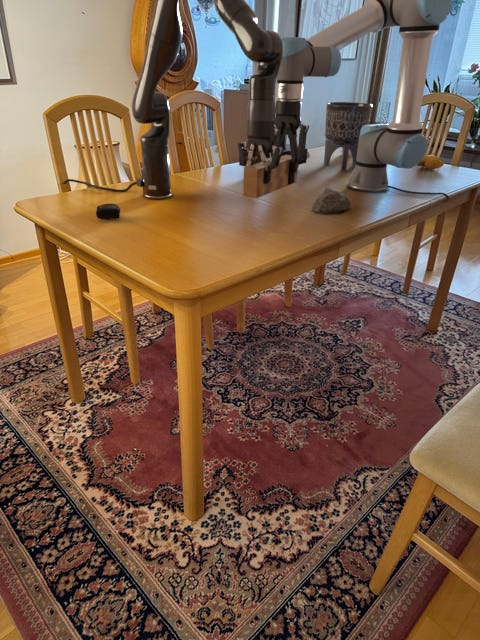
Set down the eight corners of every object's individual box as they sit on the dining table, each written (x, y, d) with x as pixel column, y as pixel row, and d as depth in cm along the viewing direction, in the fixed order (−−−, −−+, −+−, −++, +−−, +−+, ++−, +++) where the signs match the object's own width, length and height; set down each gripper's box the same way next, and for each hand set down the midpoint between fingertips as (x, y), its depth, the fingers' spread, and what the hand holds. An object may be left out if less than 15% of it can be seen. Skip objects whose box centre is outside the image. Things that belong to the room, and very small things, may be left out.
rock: (335, 203, 156) (338, 184, 153) (355, 209, 151) (359, 189, 148) (309, 210, 149) (311, 190, 145) (329, 217, 143) (332, 196, 140)
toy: (418, 162, 205) (412, 155, 217) (420, 176, 207) (414, 168, 220) (444, 154, 201) (436, 147, 214) (446, 168, 204) (438, 161, 217)
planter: (313, 167, 208) (319, 103, 195) (331, 160, 222) (338, 101, 209) (353, 173, 199) (362, 107, 185) (369, 166, 213) (379, 104, 199)
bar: (284, 180, 147) (285, 154, 143) (296, 182, 145) (298, 156, 141) (243, 195, 130) (243, 167, 126) (256, 198, 128) (257, 169, 124)
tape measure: (96, 222, 135) (94, 209, 133) (99, 215, 140) (97, 203, 139) (120, 221, 136) (118, 209, 134) (121, 214, 141) (120, 202, 139)
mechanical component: (240, 120, 182) (283, 115, 202) (239, 174, 192) (280, 164, 212) (283, 126, 170) (325, 120, 190) (280, 183, 180) (320, 171, 200)
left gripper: (231, 116, 123) (230, 181, 131) (277, 121, 116) (273, 188, 124) (246, 114, 128) (245, 176, 137) (291, 118, 121) (286, 183, 130)
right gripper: (256, 98, 132) (253, 180, 144) (310, 102, 124) (303, 188, 136) (269, 97, 138) (265, 175, 150) (322, 101, 129) (314, 183, 141)
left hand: (258, 181), depth 131 cm, fingers closed on bar, 4 cm apart
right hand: (283, 181), depth 143 cm, fingers closed on bar, 5 cm apart
